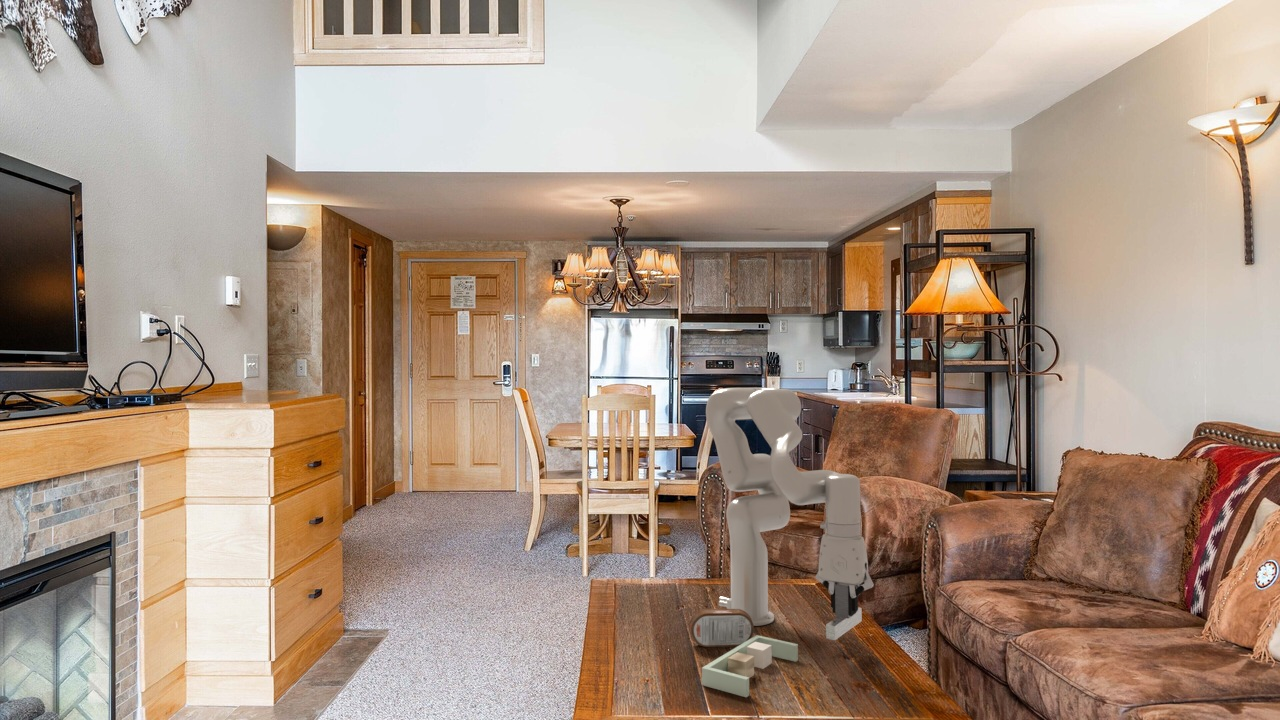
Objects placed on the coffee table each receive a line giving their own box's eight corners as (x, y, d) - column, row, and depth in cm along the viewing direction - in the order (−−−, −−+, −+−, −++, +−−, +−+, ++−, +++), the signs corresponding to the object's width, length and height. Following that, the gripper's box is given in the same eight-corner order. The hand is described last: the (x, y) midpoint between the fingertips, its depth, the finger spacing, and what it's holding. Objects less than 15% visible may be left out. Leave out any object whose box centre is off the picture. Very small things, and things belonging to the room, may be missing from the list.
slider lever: (824, 638, 166) (823, 591, 166) (851, 618, 179) (850, 575, 179) (837, 640, 164) (836, 593, 165) (863, 621, 177) (863, 577, 178)
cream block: (746, 665, 168) (746, 646, 168) (755, 659, 172) (755, 641, 172) (763, 669, 166) (763, 650, 166) (771, 663, 169) (771, 645, 169)
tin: (752, 642, 182) (752, 607, 182) (755, 647, 179) (755, 611, 179) (689, 644, 181) (688, 608, 181) (690, 649, 178) (690, 612, 178)
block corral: (701, 685, 158) (701, 667, 158) (756, 650, 177) (756, 635, 177) (746, 697, 152) (746, 679, 152) (797, 660, 171) (797, 644, 171)
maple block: (728, 677, 162) (728, 657, 162) (737, 671, 165) (737, 652, 165) (745, 681, 160) (745, 662, 160) (754, 675, 163) (754, 656, 163)
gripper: (802, 528, 174) (803, 610, 174) (873, 537, 164) (874, 624, 164) (815, 523, 180) (816, 602, 180) (885, 531, 171) (886, 615, 170)
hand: (844, 612), depth 172 cm, fingers closed on slider lever, 3 cm apart
